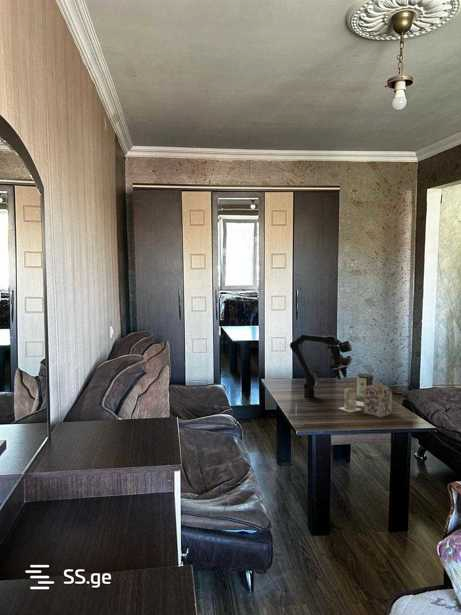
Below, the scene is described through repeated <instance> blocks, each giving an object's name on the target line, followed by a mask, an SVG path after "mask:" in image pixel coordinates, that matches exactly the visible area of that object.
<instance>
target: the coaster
mask: <svg viewBox="0 0 461 615" xmlns="http://www.w3.org/2000/svg"><path fill="white" fill-rule="evenodd" d="M357 406H358V407H363V408H364V401H359V400H356V407H357Z"/></svg>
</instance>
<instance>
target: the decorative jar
mask: <svg viewBox="0 0 461 615" xmlns="http://www.w3.org/2000/svg"><path fill="white" fill-rule="evenodd" d="M363 402H364V407H363V413H365V414H369V415H372V416H376V417H379V418H383V417H384V416H385V417H386V416H388V415H391V414H392V411H393V391H392V390H391V388H390V387H389V386H387V385H383V383H382V382H378V381H377V382H373V385H369V386H367V388H366V389H365V390H364V397H363Z"/></svg>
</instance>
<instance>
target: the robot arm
mask: <svg viewBox="0 0 461 615" xmlns="http://www.w3.org/2000/svg"><path fill="white" fill-rule="evenodd" d="M305 341H309V342H316V343H317V342H318V343H323V344H324V345H327V347H326V350H330V354H331V357H330V359H331V360H332V361H333V363H332V364H329V365H328V369H329V370H330V371H331V372H332V374H334V375H335V377H336V378H337V379H338V380H339V381H340V380H342V379H341V375H342V376H343V378H345V379H346V378H347V373H348V372H347V370H348V368H349V367H350V364H352V360H353V359H352V356H350V355H348V356H346V357H344V356H343V354H345V353H347V352H348V353H349V352H352V351H353V349H352V348H353V347H352V345H351V343H350V341H349V340H345V341H343V342H342V341H340V340H339V339H338V337H337V336H336V335H334V334H332V335H316V334H307V333H304V334H302V335H301V336H299V337H298V338H297V339H295V340H294V341H291V342H290V344H289V348H290V350H291V351H292V352H293V353H294V354H295V355H296V357H297V359H298V361H299V364H300V366H301V367H302V370H303V372H304V374H305V381H306V382H305V383H304V385H302V386H303V388H304V393H303V394H304V395H303V398H306V399H307V398H309V399H314V398H315V397H316V389H315V387H316V385H317V384H318V383H319V377H318V375H317V373H316V372H313V371H312V369H311V367H310V364H309V362H308V361H307V358H306V356H305V354H304V352H303V344H304V343H305Z"/></svg>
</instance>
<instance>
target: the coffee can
mask: <svg viewBox="0 0 461 615" xmlns="http://www.w3.org/2000/svg"><path fill="white" fill-rule="evenodd" d="M356 376H357V378H356V379H357V384H356V385H357V386H356V390H357V396H356V397H360V398H364V390H365V389H366V388H367V386H369V385H373V384H374V375H373V374H370V373H358V374H357V375H356Z"/></svg>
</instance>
